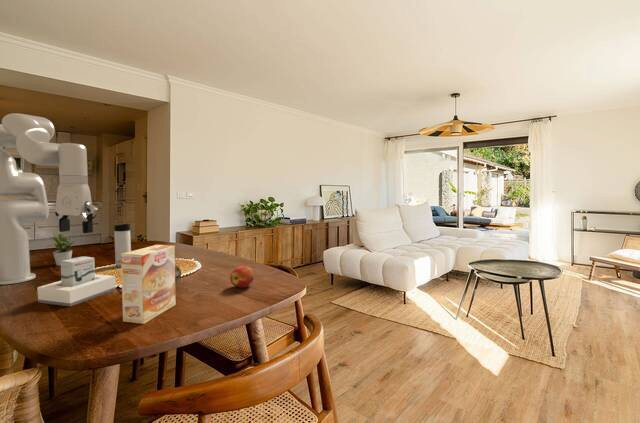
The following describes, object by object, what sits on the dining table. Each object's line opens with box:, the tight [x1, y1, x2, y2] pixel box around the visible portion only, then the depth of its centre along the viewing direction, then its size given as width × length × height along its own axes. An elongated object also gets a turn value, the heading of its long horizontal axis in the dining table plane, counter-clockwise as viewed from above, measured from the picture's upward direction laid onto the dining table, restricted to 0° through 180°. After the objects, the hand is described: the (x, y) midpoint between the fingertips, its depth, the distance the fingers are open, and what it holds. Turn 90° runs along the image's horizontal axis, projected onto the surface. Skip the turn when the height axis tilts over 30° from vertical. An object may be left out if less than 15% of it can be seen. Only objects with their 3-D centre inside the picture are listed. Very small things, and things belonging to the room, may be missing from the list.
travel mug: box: [113, 223, 132, 268], centre depth 150 cm, size 6×7×20 cm
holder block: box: [36, 273, 117, 307], centre depth 111 cm, size 13×17×5 cm
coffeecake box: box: [120, 244, 177, 325], centre depth 97 cm, size 15×7×20 cm, turn 170°
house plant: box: [45, 231, 78, 267], centre depth 151 cm, size 14×14×16 cm
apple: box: [229, 265, 255, 289], centre depth 123 cm, size 8×8×8 cm
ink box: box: [60, 256, 96, 287], centre depth 110 cm, size 9×5×12 cm, turn 167°
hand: (76, 232), depth 109 cm, fingers open, 9 cm apart
